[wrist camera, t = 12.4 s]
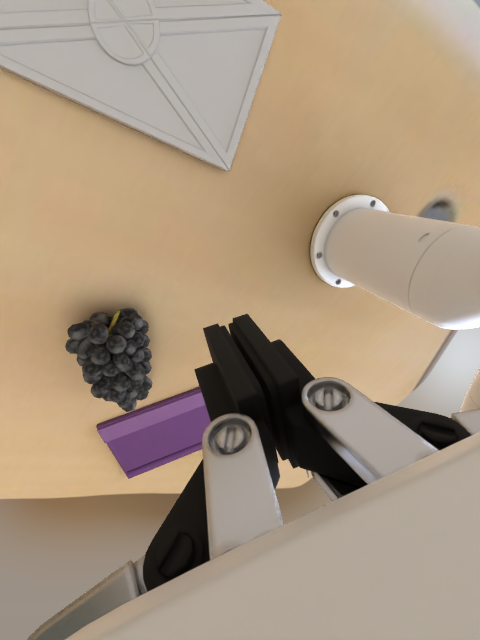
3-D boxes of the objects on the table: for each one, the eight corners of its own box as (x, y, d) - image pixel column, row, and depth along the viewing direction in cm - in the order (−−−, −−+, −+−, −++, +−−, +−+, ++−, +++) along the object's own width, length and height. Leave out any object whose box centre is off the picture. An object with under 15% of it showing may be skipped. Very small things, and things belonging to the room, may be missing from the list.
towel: (230, 375, 46) (232, 378, 45) (244, 428, 52) (246, 432, 51) (96, 424, 42) (96, 429, 42) (128, 475, 48) (128, 480, 48)
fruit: (149, 444, 35) (128, 331, 28) (78, 442, 35) (39, 330, 28) (166, 393, 43) (153, 294, 36) (108, 392, 43) (83, 293, 36)
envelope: (-43, -207, 19) (-55, 42, 24) (-63, -248, 18) (-72, 31, 22) (273, 23, 29) (224, 170, 33) (282, 12, 27) (229, 170, 31)
